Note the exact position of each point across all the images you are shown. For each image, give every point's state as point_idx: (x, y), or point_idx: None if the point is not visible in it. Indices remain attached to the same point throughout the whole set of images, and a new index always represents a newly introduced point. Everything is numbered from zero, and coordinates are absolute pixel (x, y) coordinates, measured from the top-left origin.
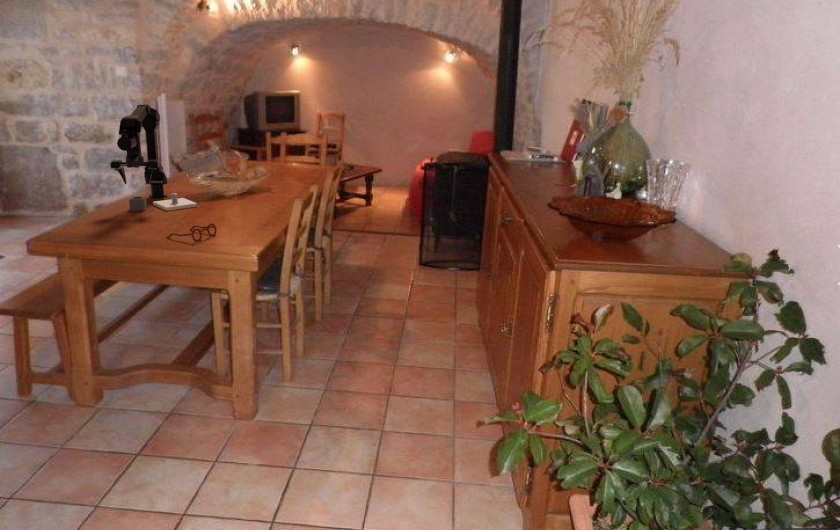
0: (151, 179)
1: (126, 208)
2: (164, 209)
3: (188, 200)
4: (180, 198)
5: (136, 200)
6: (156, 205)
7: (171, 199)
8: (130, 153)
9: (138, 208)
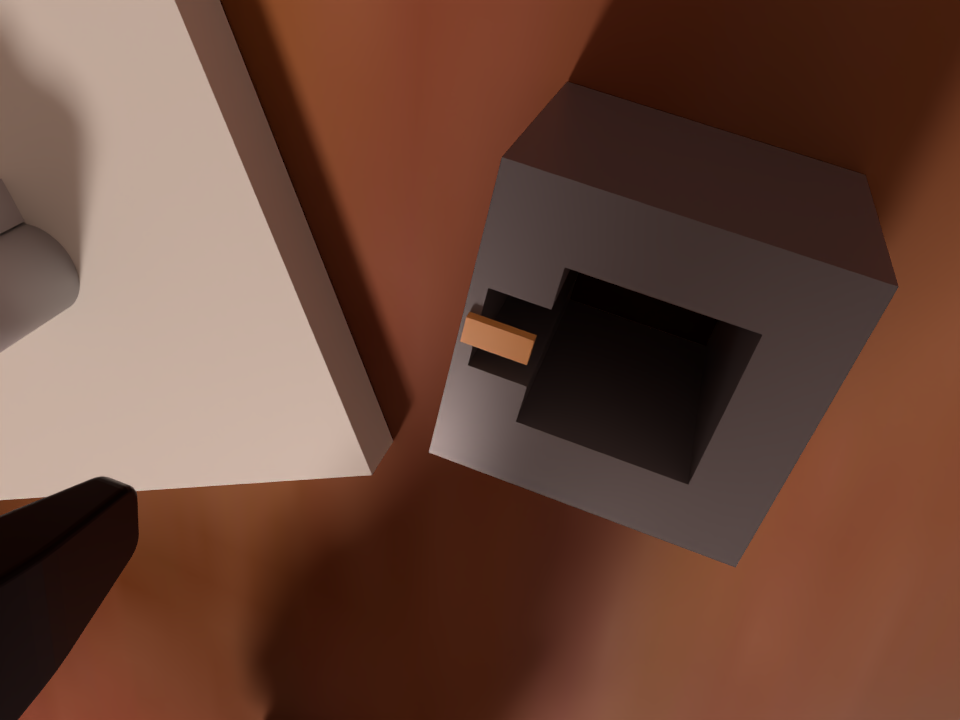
0: None
1: (861, 410)
2: None
3: None
4: (11, 481)
5: (696, 209)
6: (338, 330)
7: None
8: None
9: (686, 134)
